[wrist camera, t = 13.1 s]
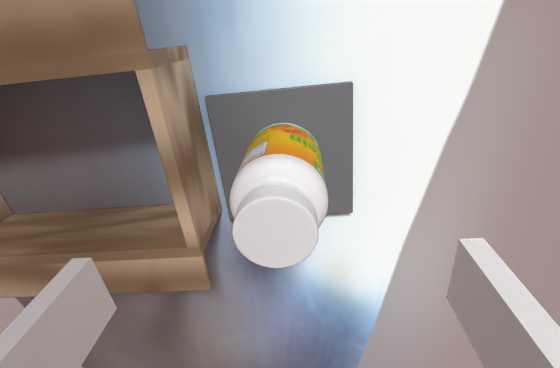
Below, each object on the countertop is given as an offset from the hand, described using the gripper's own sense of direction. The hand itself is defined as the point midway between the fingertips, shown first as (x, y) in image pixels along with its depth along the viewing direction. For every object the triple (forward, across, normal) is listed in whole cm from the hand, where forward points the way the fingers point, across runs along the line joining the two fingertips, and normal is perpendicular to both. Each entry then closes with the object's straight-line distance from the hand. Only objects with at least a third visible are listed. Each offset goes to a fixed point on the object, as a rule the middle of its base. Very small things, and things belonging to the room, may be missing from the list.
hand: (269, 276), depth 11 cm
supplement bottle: (+13, 0, -1) cm, 13 cm away
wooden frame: (+13, -16, +1) cm, 20 cm away
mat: (+13, 0, -1) cm, 13 cm away
